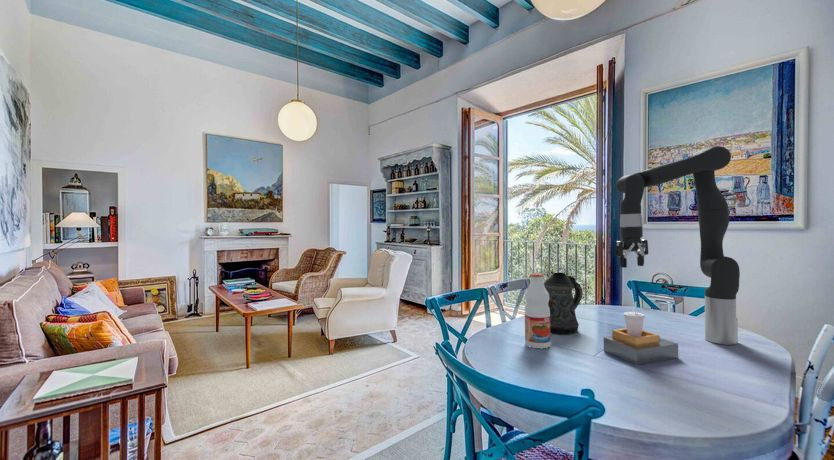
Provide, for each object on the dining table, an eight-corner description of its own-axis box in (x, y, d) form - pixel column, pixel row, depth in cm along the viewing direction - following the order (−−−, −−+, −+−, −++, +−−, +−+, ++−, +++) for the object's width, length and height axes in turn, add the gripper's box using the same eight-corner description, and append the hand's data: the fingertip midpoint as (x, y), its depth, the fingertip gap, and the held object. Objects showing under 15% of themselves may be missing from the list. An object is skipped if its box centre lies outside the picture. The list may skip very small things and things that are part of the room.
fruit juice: (538, 339, 142) (537, 271, 142) (556, 347, 134) (554, 274, 133) (520, 343, 139) (518, 273, 138) (536, 351, 130) (535, 276, 130)
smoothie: (648, 344, 120) (647, 304, 120) (628, 343, 122) (627, 303, 121) (640, 338, 127) (639, 300, 126) (621, 337, 128) (620, 299, 128)
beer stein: (531, 329, 156) (530, 273, 156) (552, 320, 169) (551, 269, 169) (568, 337, 144) (567, 277, 144) (587, 327, 157) (586, 272, 157)
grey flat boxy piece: (648, 343, 135) (647, 323, 135) (684, 356, 121) (684, 334, 121) (603, 350, 129) (603, 329, 129) (637, 365, 116) (636, 340, 116)
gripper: (636, 225, 143) (637, 264, 144) (608, 226, 139) (610, 267, 139) (653, 224, 136) (654, 266, 136) (625, 226, 132) (626, 269, 132)
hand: (632, 266), depth 138 cm, fingers open, 8 cm apart
